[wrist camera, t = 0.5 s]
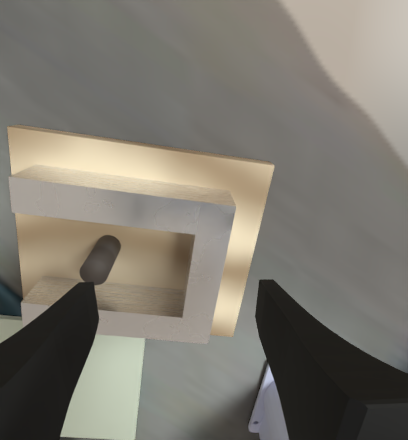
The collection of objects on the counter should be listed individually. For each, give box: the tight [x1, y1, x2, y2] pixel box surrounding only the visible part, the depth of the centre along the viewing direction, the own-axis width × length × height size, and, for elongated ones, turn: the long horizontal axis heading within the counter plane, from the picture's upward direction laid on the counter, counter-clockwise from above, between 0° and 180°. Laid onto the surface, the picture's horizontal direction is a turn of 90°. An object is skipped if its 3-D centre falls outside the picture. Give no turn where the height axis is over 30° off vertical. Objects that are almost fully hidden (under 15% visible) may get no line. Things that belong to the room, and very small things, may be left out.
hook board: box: [7, 125, 274, 337], centre depth 20 cm, size 14×16×5 cm
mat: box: [0, 315, 145, 440], centre depth 27 cm, size 14×14×1 cm
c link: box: [9, 164, 236, 344], centre depth 19 cm, size 10×12×3 cm
